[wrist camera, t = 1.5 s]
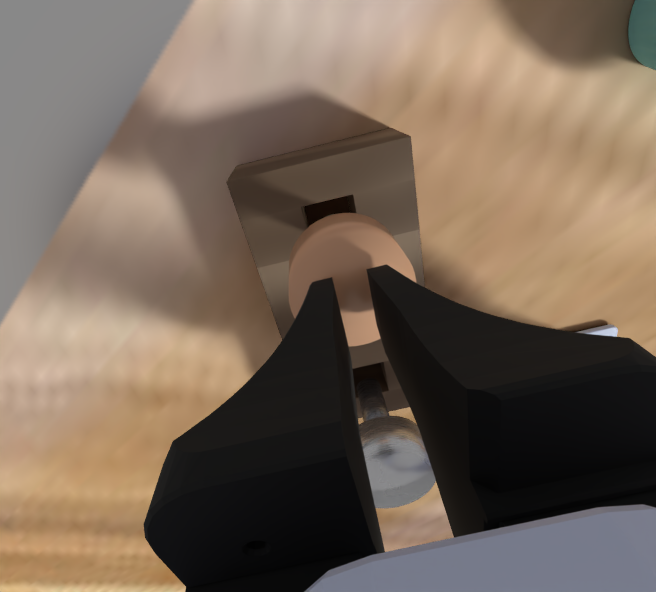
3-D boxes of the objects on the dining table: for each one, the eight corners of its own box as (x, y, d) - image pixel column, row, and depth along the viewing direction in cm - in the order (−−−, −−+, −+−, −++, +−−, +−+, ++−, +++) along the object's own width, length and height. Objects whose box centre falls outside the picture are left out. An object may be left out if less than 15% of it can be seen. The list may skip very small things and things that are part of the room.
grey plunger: (405, 403, 23) (439, 497, 17) (341, 417, 23) (357, 515, 18) (397, 353, 21) (433, 444, 15) (328, 369, 21) (340, 464, 16)
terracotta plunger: (382, 258, 18) (421, 331, 12) (301, 277, 18) (306, 357, 13) (369, 174, 16) (409, 219, 10) (278, 196, 16) (272, 252, 11)
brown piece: (419, 365, 27) (435, 401, 24) (311, 389, 27) (313, 428, 24) (390, 127, 18) (410, 136, 15) (236, 166, 19) (226, 181, 16)
